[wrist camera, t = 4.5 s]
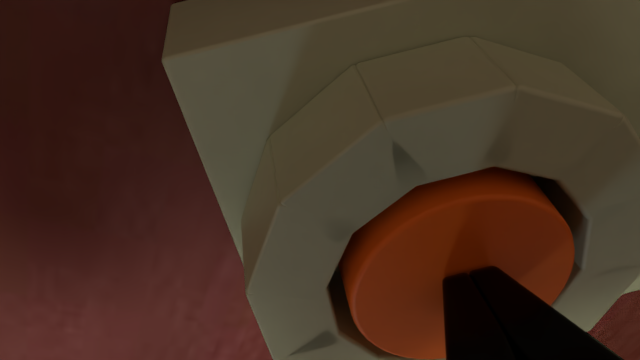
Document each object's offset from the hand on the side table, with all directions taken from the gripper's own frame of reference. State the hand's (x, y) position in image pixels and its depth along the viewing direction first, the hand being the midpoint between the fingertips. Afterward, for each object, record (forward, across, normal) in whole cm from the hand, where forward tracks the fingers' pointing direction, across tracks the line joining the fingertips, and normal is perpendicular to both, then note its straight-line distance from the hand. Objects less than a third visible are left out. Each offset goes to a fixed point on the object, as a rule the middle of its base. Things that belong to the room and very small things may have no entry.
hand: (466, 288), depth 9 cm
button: (+2, 0, 0) cm, 2 cm away
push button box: (+4, -2, 0) cm, 4 cm away
